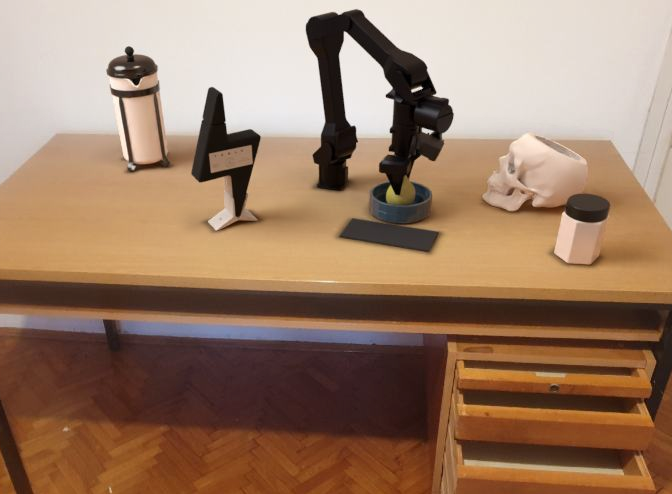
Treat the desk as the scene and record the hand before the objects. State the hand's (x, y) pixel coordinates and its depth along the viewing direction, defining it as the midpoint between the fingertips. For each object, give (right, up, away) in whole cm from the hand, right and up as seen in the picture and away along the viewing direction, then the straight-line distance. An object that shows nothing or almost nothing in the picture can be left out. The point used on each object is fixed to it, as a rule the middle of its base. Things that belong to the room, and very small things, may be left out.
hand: (401, 188), depth 161 cm
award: (-39, -8, +1) cm, 40 cm away
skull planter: (+31, -3, +5) cm, 32 cm away
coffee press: (-66, +15, +32) cm, 75 cm away
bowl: (0, -5, +3) cm, 5 cm away
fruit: (0, -4, +3) cm, 5 cm away
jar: (+34, -17, -15) cm, 41 cm away
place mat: (-4, -12, -7) cm, 14 cm away
